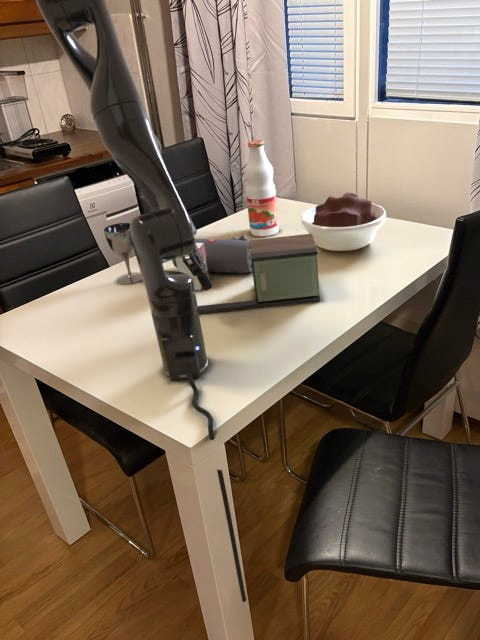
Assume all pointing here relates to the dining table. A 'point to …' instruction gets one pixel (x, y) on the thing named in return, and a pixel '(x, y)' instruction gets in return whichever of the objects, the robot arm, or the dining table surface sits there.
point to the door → (286, 278)
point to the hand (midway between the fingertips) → (208, 288)
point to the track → (256, 304)
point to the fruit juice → (260, 192)
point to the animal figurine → (239, 238)
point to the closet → (281, 247)
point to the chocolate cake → (343, 222)
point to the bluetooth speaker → (226, 255)
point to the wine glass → (122, 248)
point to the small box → (183, 268)
